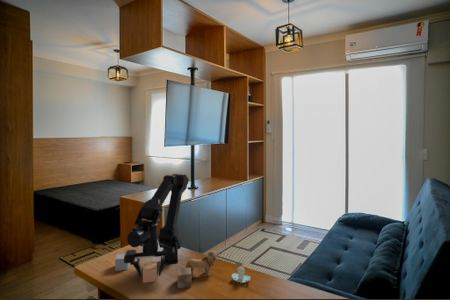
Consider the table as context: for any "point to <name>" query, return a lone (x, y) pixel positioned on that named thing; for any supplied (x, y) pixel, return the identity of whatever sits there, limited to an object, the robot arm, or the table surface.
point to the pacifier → (240, 275)
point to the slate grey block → (120, 263)
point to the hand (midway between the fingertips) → (150, 275)
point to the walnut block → (184, 277)
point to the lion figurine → (203, 263)
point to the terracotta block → (150, 272)
